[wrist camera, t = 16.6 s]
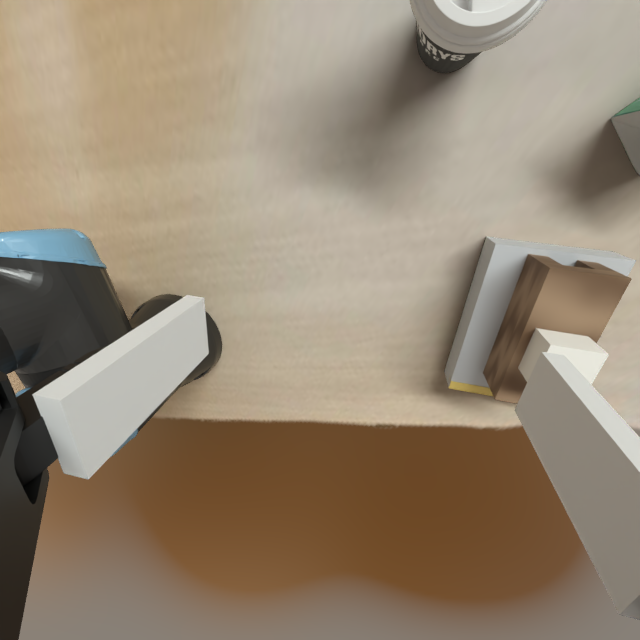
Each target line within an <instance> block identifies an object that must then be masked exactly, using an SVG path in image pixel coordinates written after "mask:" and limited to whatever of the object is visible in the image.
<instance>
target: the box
mask: <svg viewBox="0 0 640 640" xmlns="http://www.w3.org/2000/svg"><path fill="white" fill-rule="evenodd" d="M612 123H613V126H614V128H615V130H616V132H617V134H618V136H619V138H620V140H621V142H622V145H623V147H624V149H625V151H626V153H627V155H628V157H629V159H630V161H631V163H632V165H633V167H634V169H635V170H636V172H637V173H638V174H639V175H640V98H638V99H637V100H635V101H634V102H633V103H631V104H630V105H628V106H627V107H626V108H624V109H623V110H621V111H620V112H619V113H617V114H616V115H615V116H613V117H612Z"/></svg>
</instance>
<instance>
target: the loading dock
mask: <svg viewBox="0 0 640 640" xmlns="http://www.w3.org/2000/svg"><path fill="white" fill-rule="evenodd" d="M528 254H533V255H541V256H548V257H550V258H551V259H553V260H555V261H557V262H558V263H560V264H562V265H566V266H575V264H576V262H577V260H581V261H589V262H597V263H599V264H602V265H604V266H606V267H608V268H610V269H612V270H614V271H617V272H619V273H621V274H623V275H625V276H627V277H628V275H629V273H630V271H631V269H632V268H633V266H634V264H635V262H636V260H633V259H631V258H628V257H625V256H623V255H620V254H618V253H615V252H612V251H604V250H595V249H587V248H578V247H570V246H561V245H553V244H544V243H536V242H527V241H519V240H510V239H502V238H493V237H486V239H485V242H484V245H483V248H482V252H481V255H480V258H479V261H478V265H477V268H476V271H475V274H474V277H473V281H472V284H471V287H470V290H469V294H468V297H467V300H466V303H465V306H464V310H463V313H462V316H461V319H460V323H459V326H458V329H457V332H456V335H455V339H454V342H453V345H452V348H451V352H450V355H449V358H448V361H447V364H446V368H445V371H444V372H445V376H446V380H447V384H448V387H449V388H450V389H455V390H461V391H466V392H472V393H477V394H483V395H488V396H493V394H492V392H491V390H490V387H489V385H488V383H487V381H486V379H485V376H484V374H483V371H484V368H485V366H486V363H487V361H488V358H489V355H490V353H491V350H492V347H493V345H494V342H495V340H496V337H497V334H498V332H499V329H500V326H501V324H502V321H503V319H504V316H505V313H506V311H507V308H508V305H509V303H510V300H511V298H512V295H513V292H514V290H515V287H516V284H517V282H518V279H519V277H520V274H521V271H522V269H523V266H524V263H525V261H526V258H527V256H528Z"/></svg>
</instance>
